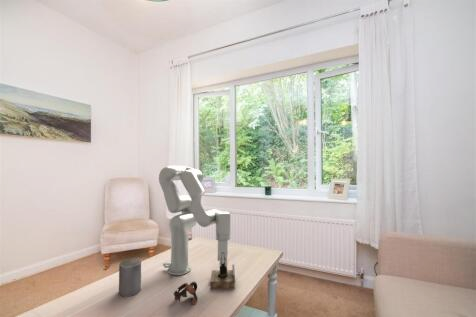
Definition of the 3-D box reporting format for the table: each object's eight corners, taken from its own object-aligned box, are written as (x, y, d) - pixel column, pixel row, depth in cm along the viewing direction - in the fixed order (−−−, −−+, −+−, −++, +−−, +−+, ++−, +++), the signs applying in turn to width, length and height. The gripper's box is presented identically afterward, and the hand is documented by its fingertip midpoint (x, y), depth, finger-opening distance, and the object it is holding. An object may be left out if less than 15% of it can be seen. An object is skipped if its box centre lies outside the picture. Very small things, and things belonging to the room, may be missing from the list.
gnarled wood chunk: (191, 310, 98) (181, 294, 98) (176, 314, 102) (167, 298, 102) (206, 289, 109) (197, 274, 109) (191, 293, 113) (183, 278, 113)
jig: (210, 288, 114) (210, 275, 114) (211, 276, 126) (212, 264, 126) (234, 288, 115) (234, 275, 115) (234, 276, 127) (234, 264, 127)
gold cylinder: (219, 279, 118) (219, 259, 119) (219, 276, 122) (219, 256, 123) (227, 279, 119) (227, 259, 119) (227, 275, 123) (227, 256, 123)
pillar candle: (119, 288, 115) (119, 257, 115) (141, 284, 118) (141, 254, 118) (117, 299, 106) (118, 265, 106) (141, 294, 109) (141, 262, 110)
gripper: (216, 231, 129) (216, 264, 129) (214, 241, 112) (215, 280, 112) (230, 231, 129) (230, 264, 129) (230, 241, 113) (230, 279, 112)
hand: (223, 271), depth 121 cm, fingers closed on gold cylinder, 4 cm apart
